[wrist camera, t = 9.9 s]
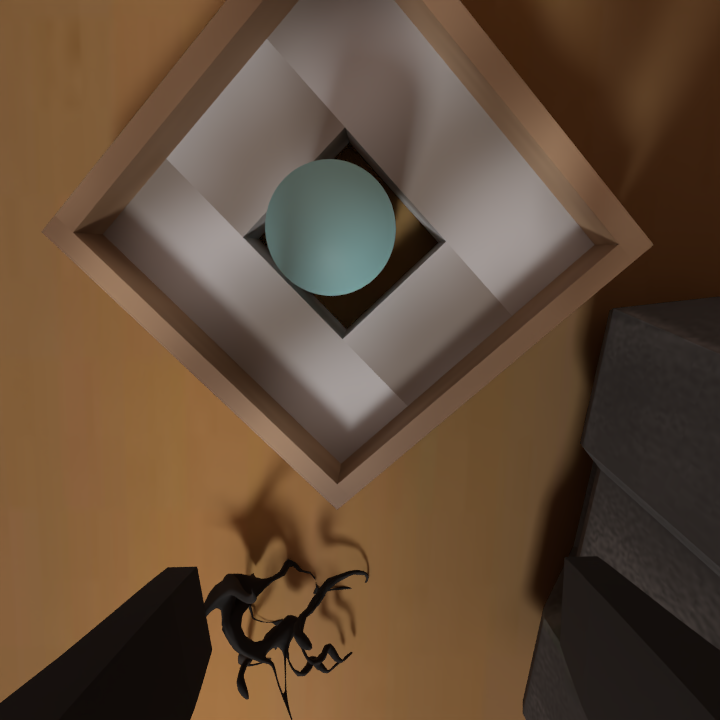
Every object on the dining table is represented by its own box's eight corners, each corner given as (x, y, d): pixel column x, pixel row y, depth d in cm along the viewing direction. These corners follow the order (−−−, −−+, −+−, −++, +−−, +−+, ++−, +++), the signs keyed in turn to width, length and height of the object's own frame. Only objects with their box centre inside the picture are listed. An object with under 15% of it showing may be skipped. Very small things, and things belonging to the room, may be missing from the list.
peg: (294, 205, 16) (248, 180, 10) (378, 181, 16) (378, 142, 10) (318, 289, 17) (286, 309, 11) (398, 268, 17) (408, 278, 11)
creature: (399, 578, 22) (276, 495, 19) (427, 698, 17) (265, 610, 14) (291, 663, 23) (162, 599, 20) (288, 796, 18) (117, 735, 15)
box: (109, 235, 17) (41, 231, 13) (352, -53, 14) (343, -147, 11) (344, 462, 19) (336, 509, 15) (595, 245, 16) (653, 244, 13)
